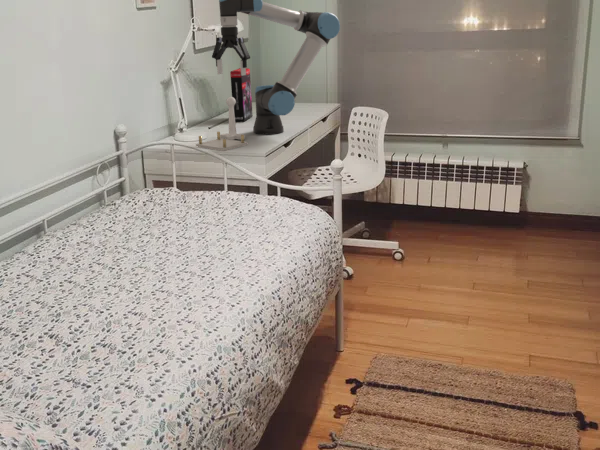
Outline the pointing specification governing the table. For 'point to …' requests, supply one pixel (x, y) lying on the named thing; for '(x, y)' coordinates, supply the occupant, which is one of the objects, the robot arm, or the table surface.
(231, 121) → the joystick
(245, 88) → the graphics card box
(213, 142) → the plate
